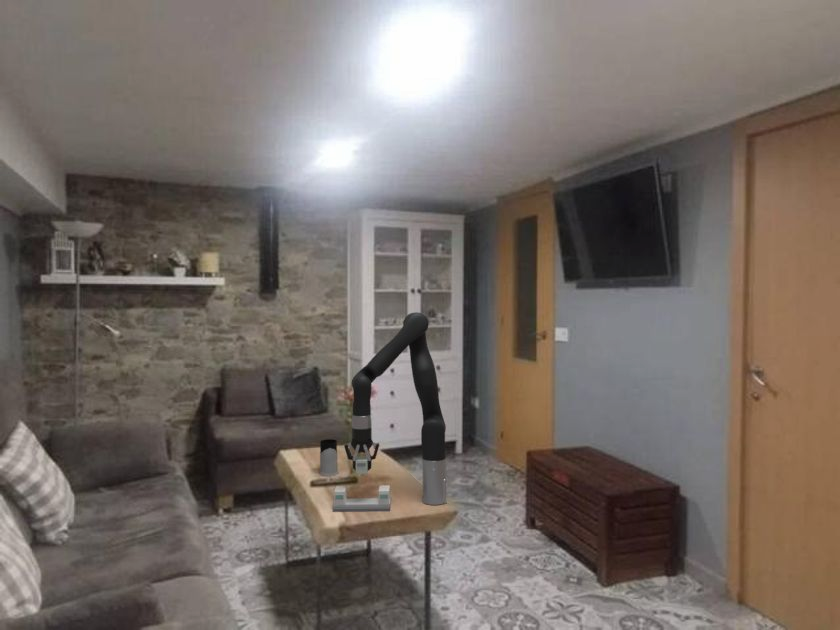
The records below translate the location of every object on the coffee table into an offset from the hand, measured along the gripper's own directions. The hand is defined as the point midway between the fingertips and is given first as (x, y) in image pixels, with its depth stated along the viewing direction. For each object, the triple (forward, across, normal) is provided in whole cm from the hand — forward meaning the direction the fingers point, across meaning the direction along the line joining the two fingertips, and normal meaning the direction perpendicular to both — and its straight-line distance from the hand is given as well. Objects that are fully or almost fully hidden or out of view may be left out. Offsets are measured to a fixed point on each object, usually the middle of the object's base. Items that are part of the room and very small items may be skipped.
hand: (362, 469), depth 231 cm
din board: (+14, 0, 0) cm, 14 cm away
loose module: (+1, 0, 0) cm, 1 cm away
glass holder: (+14, +20, -46) cm, 52 cm away
